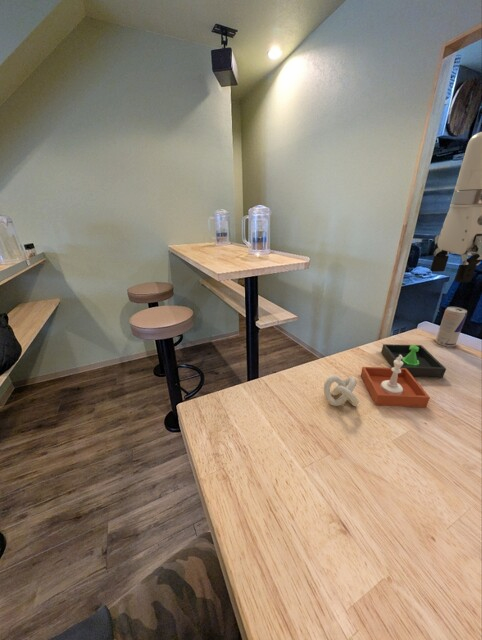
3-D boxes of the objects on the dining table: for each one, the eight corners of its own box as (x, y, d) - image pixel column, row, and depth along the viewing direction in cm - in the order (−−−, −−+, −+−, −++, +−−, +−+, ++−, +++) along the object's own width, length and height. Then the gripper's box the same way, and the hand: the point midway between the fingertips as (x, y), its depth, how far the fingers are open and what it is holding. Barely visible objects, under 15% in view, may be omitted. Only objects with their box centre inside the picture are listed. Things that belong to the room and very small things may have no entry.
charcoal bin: (419, 353, 78) (421, 345, 77) (443, 378, 67) (446, 368, 66) (381, 352, 80) (383, 344, 78) (398, 376, 69) (401, 367, 67)
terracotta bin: (403, 377, 68) (406, 368, 67) (426, 407, 58) (430, 397, 57) (360, 375, 69) (362, 366, 68) (375, 405, 59) (377, 395, 58)
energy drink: (459, 345, 82) (472, 311, 77) (448, 348, 80) (460, 314, 75) (441, 337, 86) (453, 305, 81) (431, 341, 84) (442, 308, 79)
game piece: (415, 369, 70) (421, 350, 68) (399, 362, 73) (403, 344, 71) (421, 363, 73) (426, 345, 70) (404, 357, 76) (409, 339, 73)
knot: (367, 406, 59) (371, 386, 57) (341, 418, 56) (345, 398, 54) (342, 387, 65) (346, 368, 63) (318, 397, 62) (321, 378, 60)
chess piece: (375, 385, 65) (383, 352, 61) (390, 380, 66) (398, 347, 62) (392, 397, 61) (402, 363, 57) (407, 391, 62) (417, 358, 58)
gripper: (529, 198, 46) (493, 286, 54) (464, 199, 62) (443, 267, 69) (484, 199, 47) (455, 286, 55) (431, 200, 63) (414, 268, 70)
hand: (448, 276), depth 62 cm, fingers open, 9 cm apart
